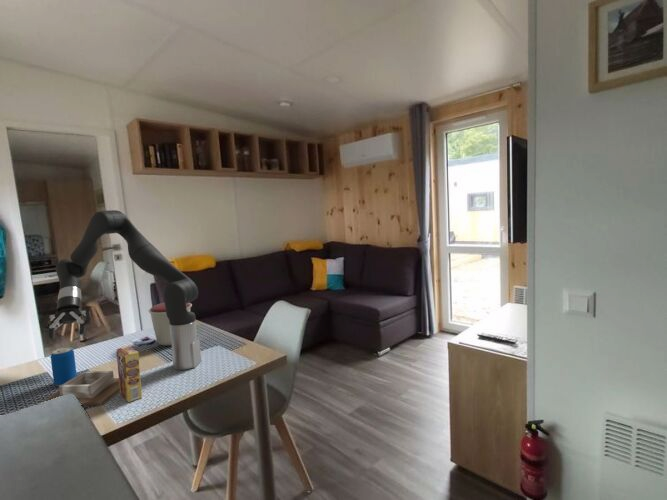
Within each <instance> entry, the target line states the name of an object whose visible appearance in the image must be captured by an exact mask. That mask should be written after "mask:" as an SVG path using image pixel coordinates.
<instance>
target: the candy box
mask: <svg viewBox="0 0 667 500" xmlns="http://www.w3.org/2000/svg"><path fill="white" fill-rule="evenodd" d="M116 360H117V361H116V362H117V370H118V372H117V373H118V378H119V385H120V391H119V393H120V395H121V396H122V397H123V398H124V399H125V400H126V402H128V403H131V402H133V401H136V400H139V399H142V397H143V396H142V395H143V394H142V393H143V392H142V383H141V370H140V369H141V368H140V354H139V351H138V350H136V349H135V348H133V347H132V346H130V345H126V346H122V347H120V348H117V349H116Z"/></svg>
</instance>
